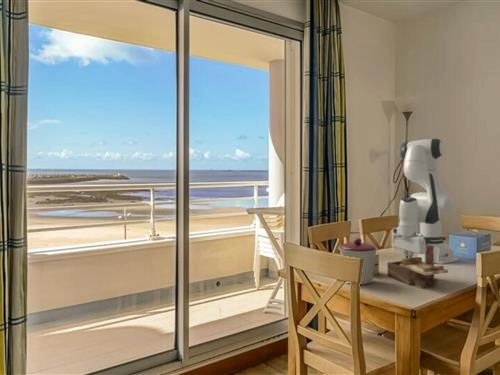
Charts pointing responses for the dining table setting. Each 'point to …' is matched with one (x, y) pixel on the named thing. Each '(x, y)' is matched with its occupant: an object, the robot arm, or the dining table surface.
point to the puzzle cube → (376, 265)
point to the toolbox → (409, 276)
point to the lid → (421, 266)
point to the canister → (363, 252)
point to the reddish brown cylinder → (429, 256)
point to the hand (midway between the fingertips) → (408, 259)
